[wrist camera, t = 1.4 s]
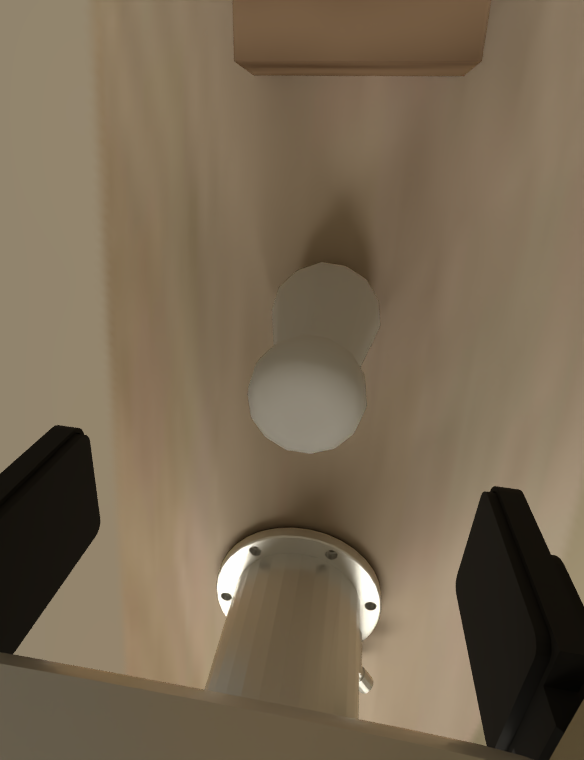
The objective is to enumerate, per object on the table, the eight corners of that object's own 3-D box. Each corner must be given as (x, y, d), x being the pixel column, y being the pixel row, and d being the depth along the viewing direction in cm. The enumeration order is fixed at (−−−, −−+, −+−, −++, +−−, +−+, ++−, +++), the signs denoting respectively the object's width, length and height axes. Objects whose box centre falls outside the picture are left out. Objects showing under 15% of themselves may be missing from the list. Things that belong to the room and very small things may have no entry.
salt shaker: (260, 286, 28) (187, 378, 17) (347, 234, 27) (331, 296, 15) (312, 367, 30) (278, 502, 18) (397, 323, 28) (419, 443, 17)
